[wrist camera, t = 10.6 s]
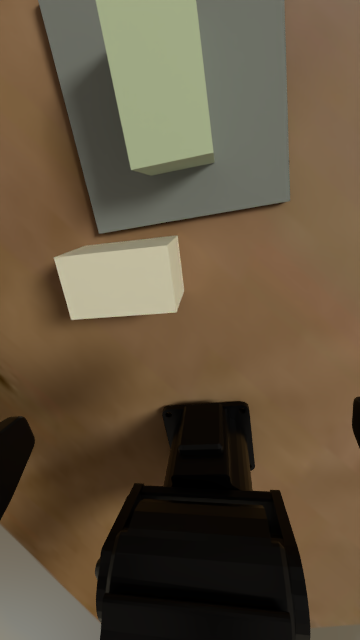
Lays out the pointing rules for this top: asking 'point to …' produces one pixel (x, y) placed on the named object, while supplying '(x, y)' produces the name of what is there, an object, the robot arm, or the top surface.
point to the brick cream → (122, 278)
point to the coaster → (223, 103)
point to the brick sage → (158, 82)
